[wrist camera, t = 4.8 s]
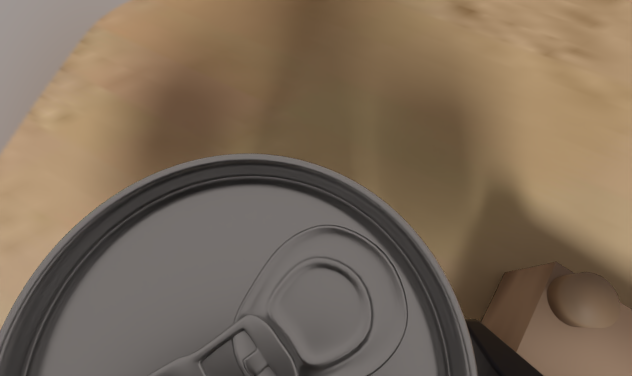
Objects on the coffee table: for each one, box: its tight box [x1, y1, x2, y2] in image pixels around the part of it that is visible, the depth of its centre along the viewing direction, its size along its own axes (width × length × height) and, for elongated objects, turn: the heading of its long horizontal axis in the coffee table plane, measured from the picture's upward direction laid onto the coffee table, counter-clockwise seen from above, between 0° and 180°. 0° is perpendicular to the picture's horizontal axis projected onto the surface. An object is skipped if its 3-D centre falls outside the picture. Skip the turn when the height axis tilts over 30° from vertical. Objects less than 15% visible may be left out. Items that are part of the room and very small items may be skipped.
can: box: [0, 154, 478, 376], centre depth 10 cm, size 6×6×12 cm
